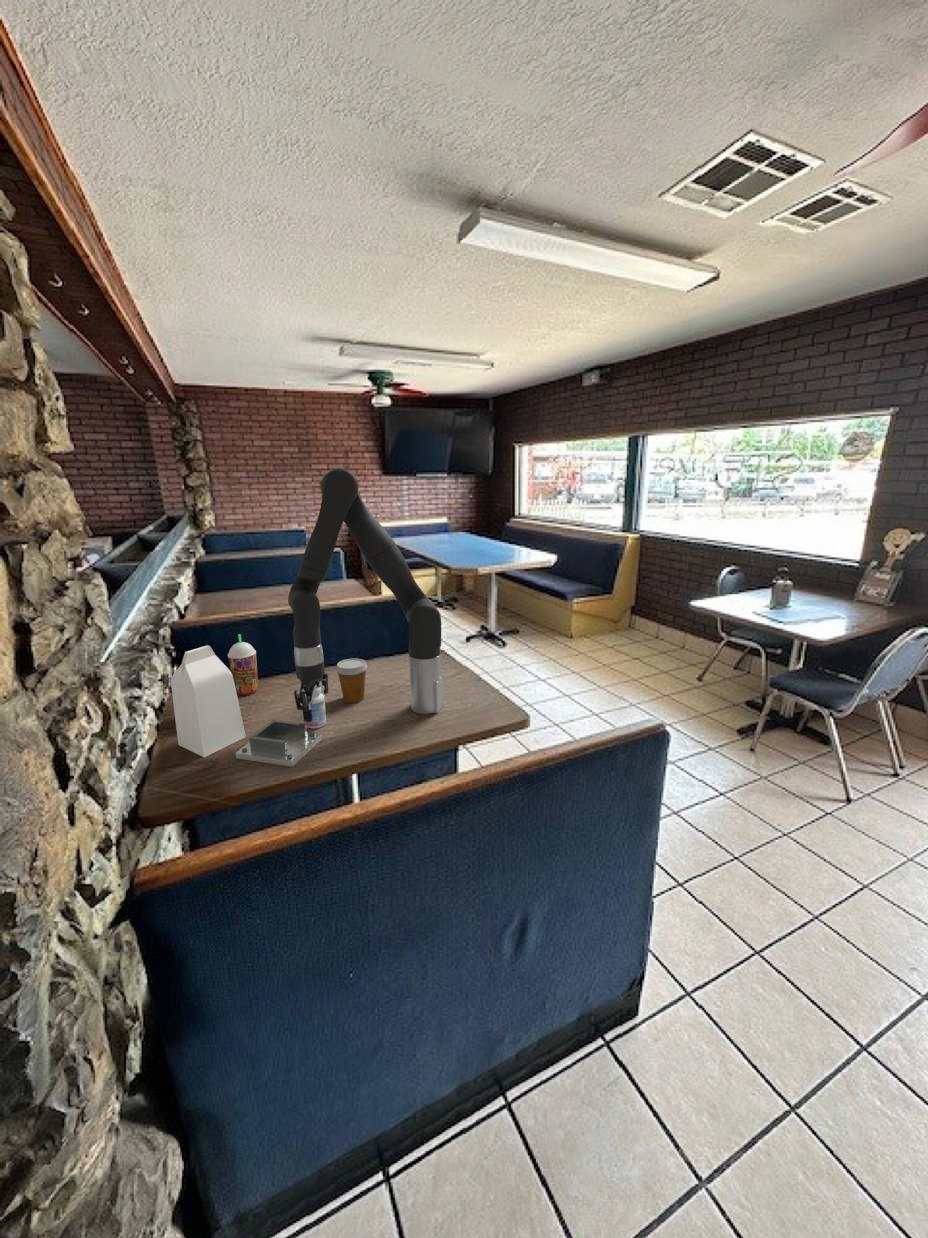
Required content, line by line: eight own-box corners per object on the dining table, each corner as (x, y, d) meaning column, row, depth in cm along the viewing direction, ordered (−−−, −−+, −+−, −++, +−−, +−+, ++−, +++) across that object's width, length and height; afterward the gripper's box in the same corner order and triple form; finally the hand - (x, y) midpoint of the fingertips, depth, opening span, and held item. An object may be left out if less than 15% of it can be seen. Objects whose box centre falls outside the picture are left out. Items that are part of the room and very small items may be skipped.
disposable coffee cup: (365, 705, 156) (363, 669, 152) (335, 705, 156) (331, 669, 153) (372, 692, 165) (369, 657, 162) (342, 692, 165) (340, 657, 162)
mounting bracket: (322, 738, 136) (320, 721, 135) (292, 766, 123) (290, 748, 122) (269, 731, 140) (267, 715, 139) (236, 758, 127) (233, 740, 126)
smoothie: (234, 700, 160) (225, 640, 155) (232, 690, 167) (224, 632, 162) (262, 695, 164) (255, 635, 158) (259, 685, 171) (252, 629, 165)
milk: (204, 757, 128) (187, 660, 121) (178, 745, 134) (161, 652, 127) (245, 736, 138) (233, 646, 131) (220, 726, 144) (206, 639, 136)
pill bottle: (299, 727, 143) (295, 690, 140) (313, 717, 148) (309, 682, 145) (317, 730, 141) (314, 693, 138) (330, 721, 146) (327, 685, 143)
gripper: (307, 671, 131) (313, 729, 136) (334, 652, 145) (339, 706, 149) (281, 668, 133) (288, 726, 138) (311, 650, 147) (316, 703, 151)
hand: (314, 715), depth 144 cm, fingers closed on pill bottle, 6 cm apart
